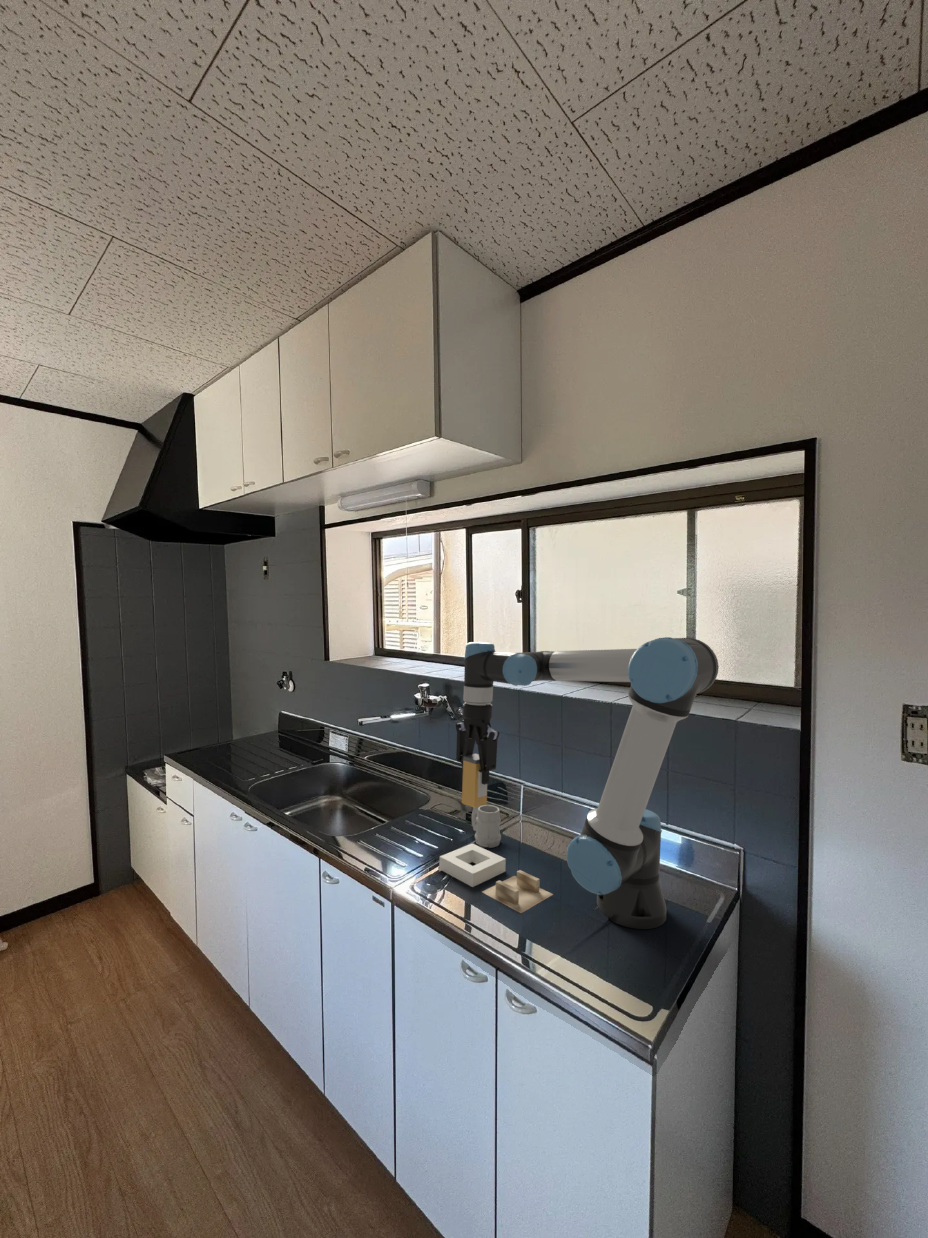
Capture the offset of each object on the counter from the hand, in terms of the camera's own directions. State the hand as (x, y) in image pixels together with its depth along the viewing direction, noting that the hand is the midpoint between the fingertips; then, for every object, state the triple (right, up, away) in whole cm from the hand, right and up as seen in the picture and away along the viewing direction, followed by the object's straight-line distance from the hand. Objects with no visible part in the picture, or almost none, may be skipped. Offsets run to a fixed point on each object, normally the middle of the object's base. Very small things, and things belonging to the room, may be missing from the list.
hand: (474, 793), depth 135 cm
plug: (0, -3, 0) cm, 3 cm away
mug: (+3, -21, +21) cm, 29 cm away
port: (-1, -20, 0) cm, 21 cm away
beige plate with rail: (+10, -21, -11) cm, 26 cm away
